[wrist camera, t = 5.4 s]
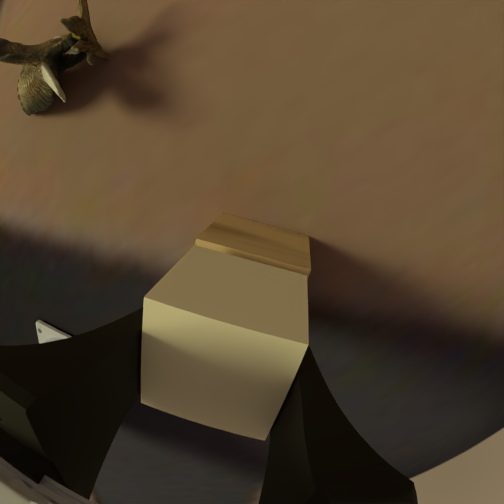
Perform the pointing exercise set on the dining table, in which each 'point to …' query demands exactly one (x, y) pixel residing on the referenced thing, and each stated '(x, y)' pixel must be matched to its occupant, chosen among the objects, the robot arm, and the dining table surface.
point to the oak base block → (258, 243)
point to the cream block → (223, 341)
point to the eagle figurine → (51, 60)
